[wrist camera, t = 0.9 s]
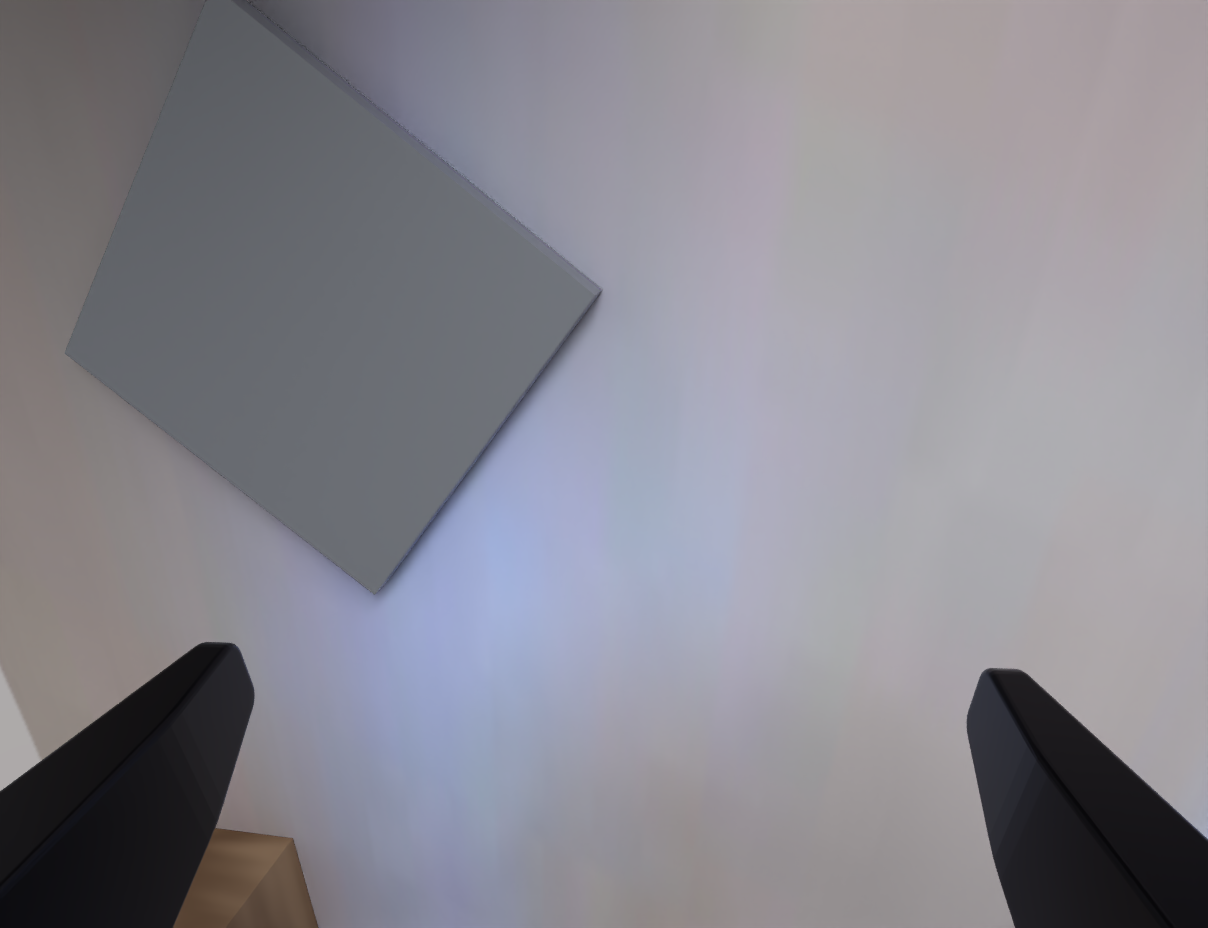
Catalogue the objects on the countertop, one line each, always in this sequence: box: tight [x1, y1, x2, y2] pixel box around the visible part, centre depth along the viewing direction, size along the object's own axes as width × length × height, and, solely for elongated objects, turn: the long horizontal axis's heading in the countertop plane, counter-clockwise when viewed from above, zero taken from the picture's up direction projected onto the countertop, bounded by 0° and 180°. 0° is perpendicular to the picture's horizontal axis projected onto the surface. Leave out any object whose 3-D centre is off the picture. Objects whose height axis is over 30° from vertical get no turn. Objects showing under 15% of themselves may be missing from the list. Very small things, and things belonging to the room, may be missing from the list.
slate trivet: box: [65, 0, 602, 595], centre depth 24 cm, size 12×12×1 cm
